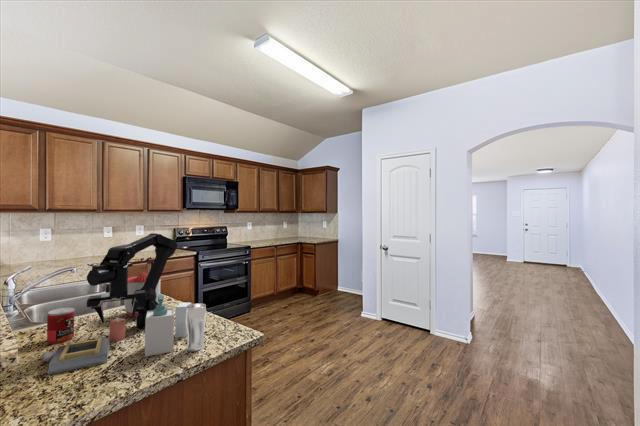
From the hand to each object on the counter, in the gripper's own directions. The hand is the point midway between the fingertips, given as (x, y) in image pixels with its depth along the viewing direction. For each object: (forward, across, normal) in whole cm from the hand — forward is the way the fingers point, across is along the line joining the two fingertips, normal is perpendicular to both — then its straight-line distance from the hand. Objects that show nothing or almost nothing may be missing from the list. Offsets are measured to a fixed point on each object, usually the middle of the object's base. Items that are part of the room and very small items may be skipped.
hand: (118, 320), depth 112 cm
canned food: (+7, +18, -10) cm, 22 cm away
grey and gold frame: (+7, +11, +13) cm, 18 cm away
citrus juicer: (+7, -8, -29) cm, 31 cm away
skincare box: (+7, -22, +8) cm, 24 cm away
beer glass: (+7, -24, +23) cm, 34 cm away
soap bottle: (+7, -13, +18) cm, 23 cm away
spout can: (+7, 0, 0) cm, 7 cm away
